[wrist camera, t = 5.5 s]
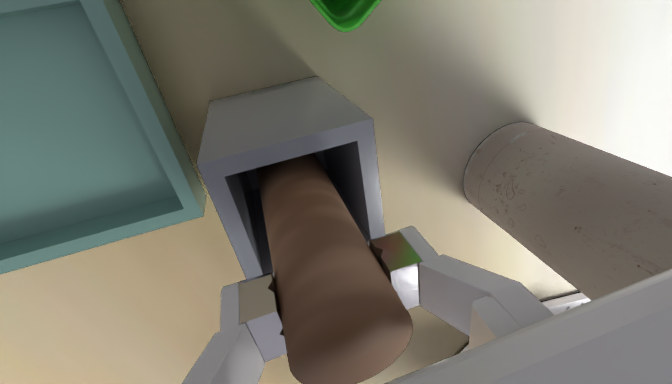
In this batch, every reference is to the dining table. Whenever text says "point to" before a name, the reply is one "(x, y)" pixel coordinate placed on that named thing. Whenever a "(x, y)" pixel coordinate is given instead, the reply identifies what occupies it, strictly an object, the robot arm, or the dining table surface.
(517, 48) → the dining table surface
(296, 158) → the dowel pin
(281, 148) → the pen cup
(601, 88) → the dining table surface
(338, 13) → the fruit basket
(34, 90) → the tray
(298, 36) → the dining table surface
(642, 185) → the thermos bottle
